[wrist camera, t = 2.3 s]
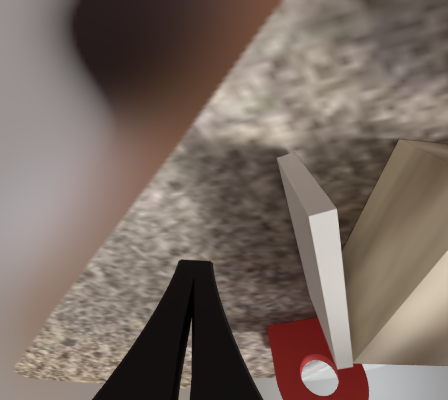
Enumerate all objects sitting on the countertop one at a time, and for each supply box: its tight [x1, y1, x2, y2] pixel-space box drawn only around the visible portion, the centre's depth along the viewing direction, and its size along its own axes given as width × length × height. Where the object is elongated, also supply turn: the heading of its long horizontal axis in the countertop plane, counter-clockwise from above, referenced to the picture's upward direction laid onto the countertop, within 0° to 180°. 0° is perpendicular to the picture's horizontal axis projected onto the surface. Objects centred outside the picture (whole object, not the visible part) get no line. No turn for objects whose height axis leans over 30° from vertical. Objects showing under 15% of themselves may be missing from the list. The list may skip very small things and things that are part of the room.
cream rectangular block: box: [341, 139, 448, 366], centre depth 14 cm, size 9×13×6 cm
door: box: [277, 152, 353, 369], centre depth 14 cm, size 1×13×6 cm, turn 19°
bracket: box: [267, 317, 369, 400], centre depth 20 cm, size 12×4×8 cm, turn 106°
